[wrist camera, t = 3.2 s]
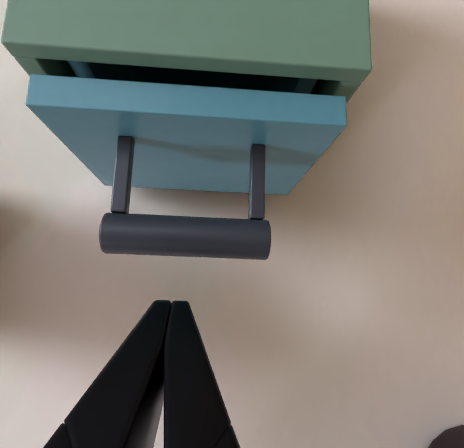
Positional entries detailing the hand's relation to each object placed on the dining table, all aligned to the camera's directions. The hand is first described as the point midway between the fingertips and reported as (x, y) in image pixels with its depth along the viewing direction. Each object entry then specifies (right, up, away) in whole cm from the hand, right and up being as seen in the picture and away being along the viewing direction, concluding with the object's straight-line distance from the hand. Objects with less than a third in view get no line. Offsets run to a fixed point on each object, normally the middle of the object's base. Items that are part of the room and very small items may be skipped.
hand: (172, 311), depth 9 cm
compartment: (-1, +9, +14) cm, 16 cm away
